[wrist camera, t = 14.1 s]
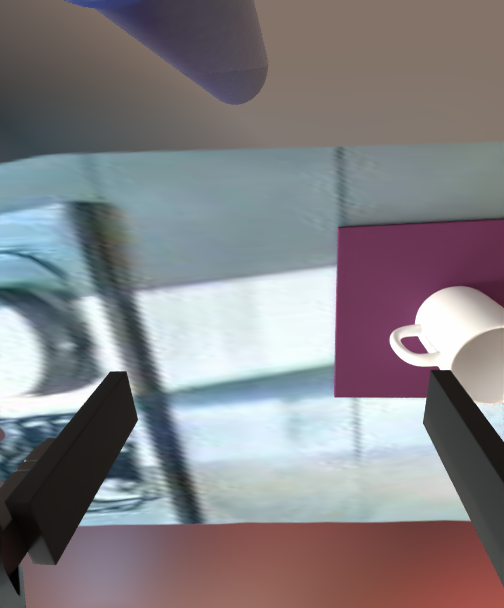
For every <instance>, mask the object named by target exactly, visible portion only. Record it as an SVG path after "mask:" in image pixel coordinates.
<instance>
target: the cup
mask: <svg viewBox="0 0 504 608" xmlns="http://www.w3.org/2000/svg"><path fill="white" fill-rule="evenodd" d="M409 336H418V337H419V339H420V341H421V342H422V344H423V345H424V346H425V348H426V349H427V351H428V352H429V353H426V354H416V353H413V352H411V351H409V350H408V349H406V348H405V347H404V346H403V344H402V343H401V341H400V339H401V338H404V337H409ZM390 344H391V347H392V348H393V350H394V351H395V353H396V354H397V355H398V356H399V357H400V358H401V359H403V360H404V361H406V362H407V363H410V364H412V365H416V366H438V367H439V368H440V370H451V371H452V373H453V374H454V375H455V377H456V378H457V379H458V381H459V382H460V384H461V385H462V386H463V388H464V389H465V390H466V392H467V393H468V394H469V396H470V397H471V398H472V400H473V401H474V402H475V403H478V404H484V405H496V404H503V403H504V308H503V307H502V306H501V305H499V304H498V303H496V302H495V301H494V300H492V299H491V298H490V297H488V296H487V295H485V294H484V293H482V292H480V291H479V290H476V289H474V288H471V287H465V286H454V287H448V288H445V289H442V290H440V291H437V292H436V293H434V294H432V295H431V296H430V297H429V298H427V299H426V300H425V301H424V303H423V304H422V305H421V307H420V308H419V310H418V313H417V316H416V321H415V324H414V325H408V326H403V327H400V328H398V329H396V330H394V331H393V332H392V334H391V335H390Z"/></svg>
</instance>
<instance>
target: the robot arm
mask: <svg viewBox="0 0 504 608" xmlns="http://www.w3.org/2000/svg"><path fill="white" fill-rule="evenodd" d="M137 421H138V418H137V414H136V409H135V405H134V401H133V397H132V393H131V388H130V384H129V380H128V376H127V372H126V371H116V372H110V373H109V374H108V375H107V376H106V378H105V379H104V380H103V381H102V382H101V384H100V385H99V386H98V387H97V389H96V390H95V391H94V392H93V393H92V395H91V396H90V397H89V398H88V400H87V401H86V402H85V403H84V405H83V406H82V407H81V408H80V409H79V411H78V412H77V413H76V414H75V416H74V417H73V418H72V419H71V420H70V422H69V423H68V424H67V425H66V427H65V428H64V429H63V430H62V431H61V433H60V434H59V435H58V436H57V438H48V439H46V440H45V441H44V442H42V443H41V444H40V445H38V446H37V447H35V448H34V449H33V450H32V452H31V453H30V454H29V455H28V456H27V457H26V459H25V460H24V462H22V463H21V464H20V466H19V467H18V468H17V469H16V472H14V473H13V474H12V475H11V476H10V477H9V478H8V480H7V481H6V482H5V483H4V484H3V485H2V487H1V488H0V608H26V604H25V593H24V581H23V570H22V568H21V566H20V562H21V561H22V559H23V558H24V556H25V555H26V553H27V552H28V553H29V556H30V558H31V560H32V562H33V564H46V565H56V564H57V562H58V561H59V559H60V557H61V555H62V554H63V552H64V550H65V548H66V546H67V545H68V543H69V541H70V539H71V537H72V536H73V534H74V532H75V531H76V528H77V527H78V525H79V524H80V522H81V520H82V518H83V516H84V515H85V513H86V511H87V509H88V508H89V506H90V504H91V502H92V501H93V499H94V497H95V495H96V493H97V492H98V490H99V488H100V486H101V485H102V483H103V481H104V479H105V478H106V476H107V474H108V472H109V470H110V469H111V467H112V465H113V463H114V462H115V460H116V458H117V456H118V455H119V453H120V451H121V449H122V447H123V446H124V444H125V442H126V440H127V439H128V437H129V435H130V433H131V432H132V430H133V428H134V426H135V424H136V423H137ZM423 424H424V426H425V428H426V430H427V432H428V434H429V436H430V438H431V440H432V442H433V444H434V446H435V448H436V450H437V453H438V455H439V457H440V459H441V461H442V463H443V465H444V467H445V469H446V471H447V473H448V475H449V477H450V479H451V481H452V483H453V485H454V487H455V489H456V491H457V493H458V495H459V497H460V499H461V501H462V503H463V505H464V507H465V509H466V511H467V513H468V515H469V517H470V520H471V522H472V523H473V526H474V528H475V530H476V532H477V533H478V536H479V538H480V540H481V542H482V544H483V546H484V548H485V550H486V552H487V554H488V556H489V558H490V560H491V562H492V564H493V566H494V568H495V570H496V572H497V574H498V576H499V578H500V580H501V582H502V584H503V586H504V442H503V440H502V439H501V438H500V436H499V435H498V434H497V432H496V431H495V430H494V428H493V427H492V425H491V424H490V423H489V421H488V420H487V419H486V417H485V416H484V415H483V413H482V412H481V411H480V409H479V408H478V407H477V405H476V404H475V402H474V401H473V400H472V398H471V397H470V396H469V394H468V393H467V392H466V390H465V389H464V388H463V386H462V385H461V384H460V382H459V381H458V379H457V378H456V377H455V375H454V374H453V373H452V371H451V370H431V371H430V378H429V385H428V392H427V399H426V406H425V413H424V420H423Z"/></svg>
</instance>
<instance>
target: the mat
mask: <svg viewBox="0 0 504 608" xmlns="http://www.w3.org/2000/svg"><path fill="white" fill-rule="evenodd" d="M454 286H465V287H471V288H474V289H476V290H479V291H480V292H482V293H484V294H485V295H487V296H488V297H490V298H491V299H492V300H494V301H495V302H496V303H498V304H499V305H501V306H502V307H503V308H504V219H489V220H469V221H449V222H429V223H409V224H389V225H369V226H349V227H338V243H337V287H336V331H335V375H334V397H383V398H427V392H428V385H429V378H430V371H431V370H440V368H439V367H438V366H416V365H412V364H410V363H407V362H406V361H404V360H403V359H401V358H400V357H399V356H398V355H397V354H396V353H395V351H394V350H393V348H392V347H391V344H390V335H391V334H392V332H393V331H394V330H396V329H398V328H400V327H403V326H408V325H414V324H415V321H416V316H417V313H418V310H419V308H420V307H421V305H422V304H423V303H424V301H425V300H426V299H427V298H429V297H430V296H431V295H432V294H434V293H436V292H437V291H440V290H442V289H445V288H448V287H454ZM400 341H401V343H402V344H403V346H404V347H405V348H406V349H408V350H409V351H411V352H413V353H416V354H426V353H429V352H428V351H427V349H426V348H425V346H424V345H423V344H422V342H421V341H420V339H419V337H418V336H409V337H404V338H401V339H400Z"/></svg>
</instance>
